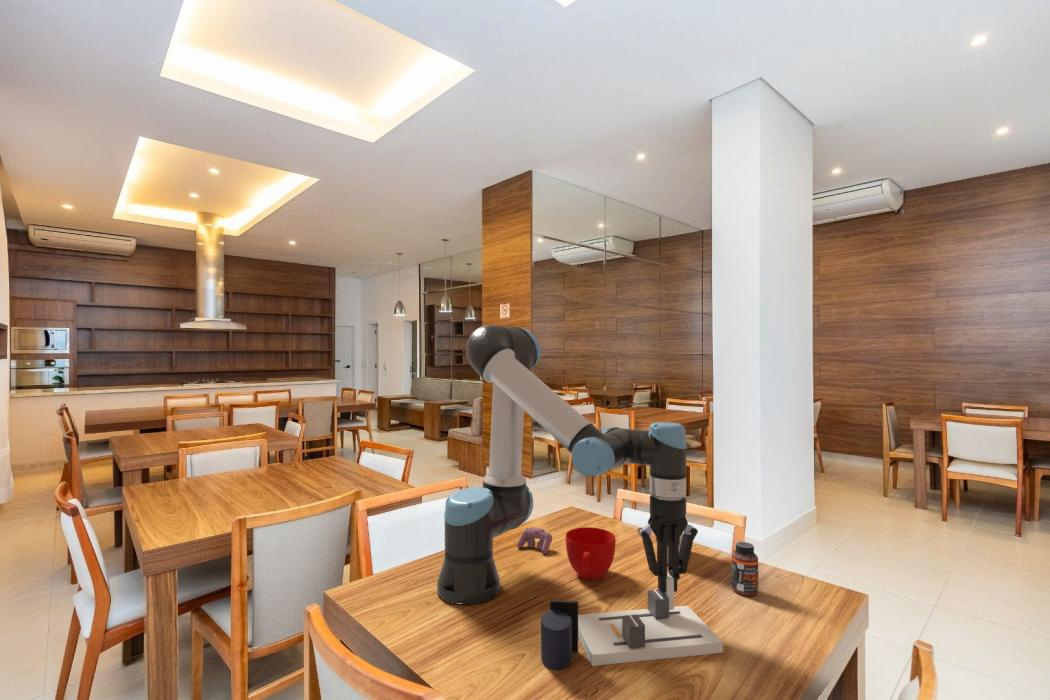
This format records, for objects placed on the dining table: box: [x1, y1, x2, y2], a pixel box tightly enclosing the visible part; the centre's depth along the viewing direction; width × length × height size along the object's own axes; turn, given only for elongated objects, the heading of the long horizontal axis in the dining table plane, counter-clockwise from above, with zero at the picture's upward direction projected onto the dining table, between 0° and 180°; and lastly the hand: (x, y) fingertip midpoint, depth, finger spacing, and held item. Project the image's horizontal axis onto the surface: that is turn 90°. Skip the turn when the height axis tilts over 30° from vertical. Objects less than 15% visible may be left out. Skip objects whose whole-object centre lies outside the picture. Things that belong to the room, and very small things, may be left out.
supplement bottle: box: [730, 541, 759, 597], centre depth 118 cm, size 6×6×11 cm
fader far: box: [647, 589, 669, 619], centre depth 104 cm, size 3×4×4 cm
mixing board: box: [578, 605, 724, 667], centre depth 98 cm, size 26×14×2 cm, turn 99°
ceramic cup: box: [565, 526, 617, 581], centre depth 126 cm, size 13×17×10 cm
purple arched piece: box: [516, 527, 553, 555], centre depth 145 cm, size 10×5×7 cm, turn 59°
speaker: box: [540, 599, 579, 671], centre depth 91 cm, size 8×6×10 cm
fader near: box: [622, 614, 645, 648], centre depth 93 cm, size 3×4×4 cm
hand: (667, 606), depth 104 cm, fingers closed
